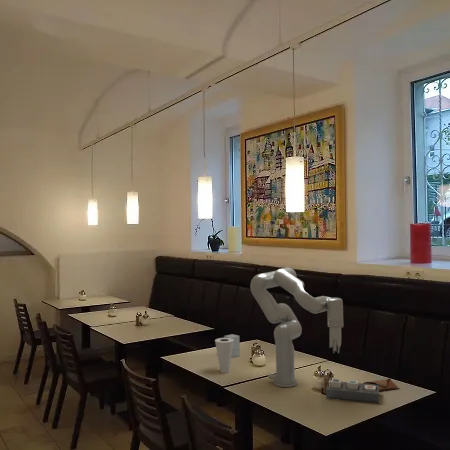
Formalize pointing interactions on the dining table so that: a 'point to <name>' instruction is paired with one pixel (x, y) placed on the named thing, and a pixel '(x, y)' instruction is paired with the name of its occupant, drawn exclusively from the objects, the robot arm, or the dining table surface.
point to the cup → (224, 353)
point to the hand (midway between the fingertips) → (336, 361)
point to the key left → (336, 383)
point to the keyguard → (353, 393)
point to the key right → (370, 388)
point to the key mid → (352, 384)
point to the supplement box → (234, 345)
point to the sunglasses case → (384, 385)
